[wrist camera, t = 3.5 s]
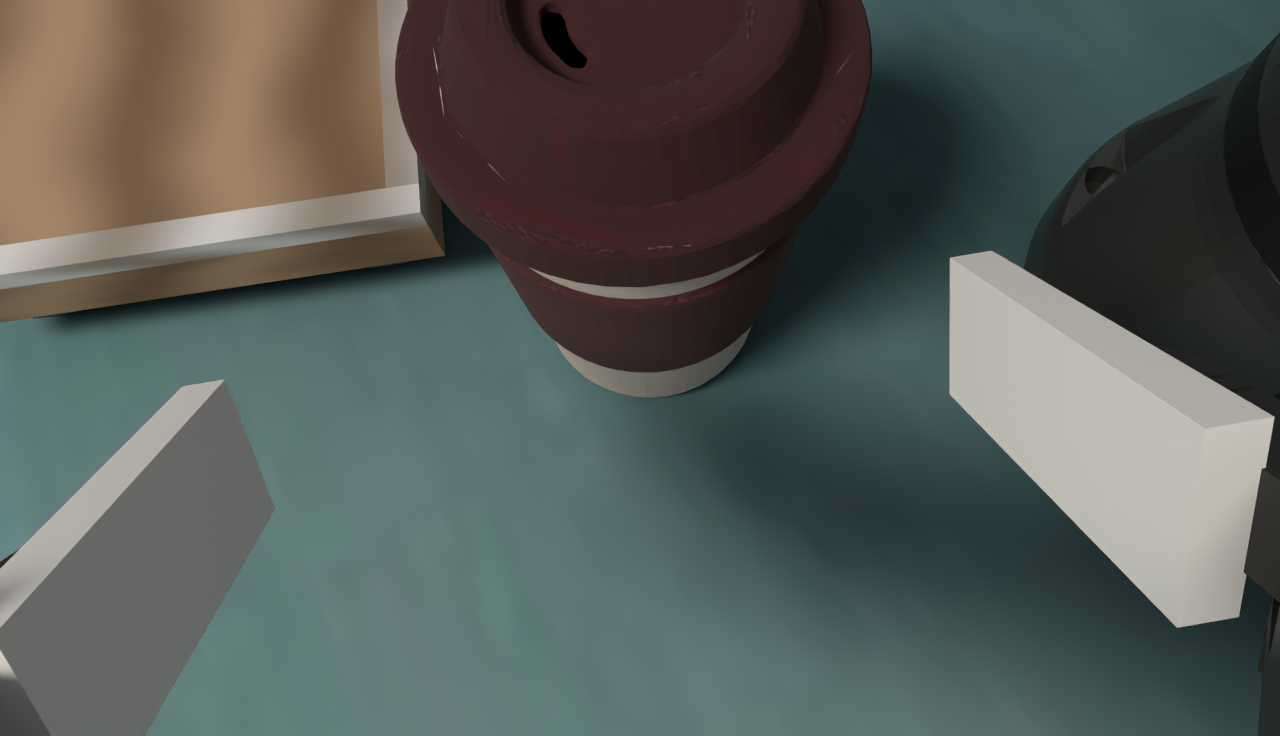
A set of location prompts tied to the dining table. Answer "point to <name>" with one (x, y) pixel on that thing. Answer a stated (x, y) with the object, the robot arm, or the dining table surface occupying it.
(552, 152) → the coffee cup
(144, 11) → the shallow square tray
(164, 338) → the dining table surface
